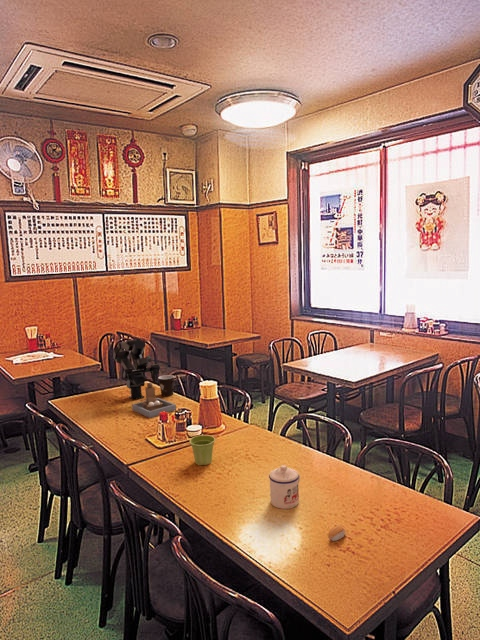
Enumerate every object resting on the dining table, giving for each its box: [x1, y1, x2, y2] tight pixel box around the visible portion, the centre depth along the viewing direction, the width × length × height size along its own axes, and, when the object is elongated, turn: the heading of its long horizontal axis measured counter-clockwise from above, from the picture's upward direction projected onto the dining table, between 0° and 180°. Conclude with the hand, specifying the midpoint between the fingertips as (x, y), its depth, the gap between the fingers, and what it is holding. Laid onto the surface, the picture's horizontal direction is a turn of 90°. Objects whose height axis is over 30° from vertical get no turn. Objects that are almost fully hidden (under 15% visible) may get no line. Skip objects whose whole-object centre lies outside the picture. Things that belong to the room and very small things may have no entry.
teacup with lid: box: [268, 464, 301, 510], centre depth 149 cm, size 12×9×12 cm
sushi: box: [327, 525, 346, 542], centre depth 129 cm, size 3×6×3 cm, turn 130°
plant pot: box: [189, 434, 216, 466], centre depth 179 cm, size 9×9×9 cm
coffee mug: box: [157, 374, 178, 397], centre depth 265 cm, size 12×9×10 cm
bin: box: [131, 397, 177, 419], centre depth 241 cm, size 17×15×3 cm
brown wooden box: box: [141, 382, 163, 411], centre depth 242 cm, size 9×8×12 cm
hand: (146, 385), depth 247 cm, fingers open, 9 cm apart
